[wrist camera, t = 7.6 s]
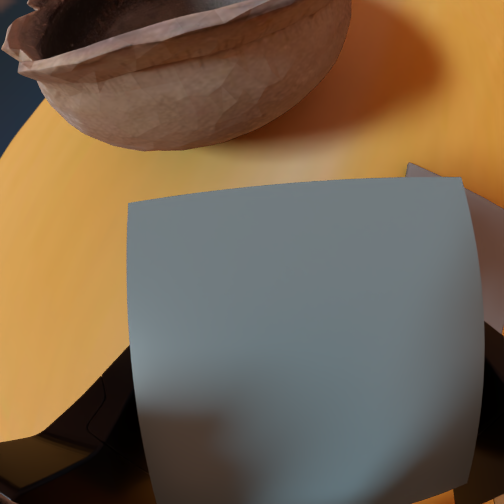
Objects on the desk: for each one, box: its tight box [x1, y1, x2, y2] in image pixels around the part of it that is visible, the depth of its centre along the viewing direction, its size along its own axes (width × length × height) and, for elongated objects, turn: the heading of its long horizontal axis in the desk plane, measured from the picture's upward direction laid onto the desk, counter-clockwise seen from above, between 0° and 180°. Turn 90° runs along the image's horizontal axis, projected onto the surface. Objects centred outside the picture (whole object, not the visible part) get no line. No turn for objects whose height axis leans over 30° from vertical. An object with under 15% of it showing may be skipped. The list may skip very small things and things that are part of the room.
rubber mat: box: [406, 162, 504, 334], centre depth 19 cm, size 12×12×1 cm
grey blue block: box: [127, 177, 485, 504], centre depth 10 cm, size 7×7×10 cm
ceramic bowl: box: [1, 0, 351, 151], centre depth 16 cm, size 22×22×15 cm
